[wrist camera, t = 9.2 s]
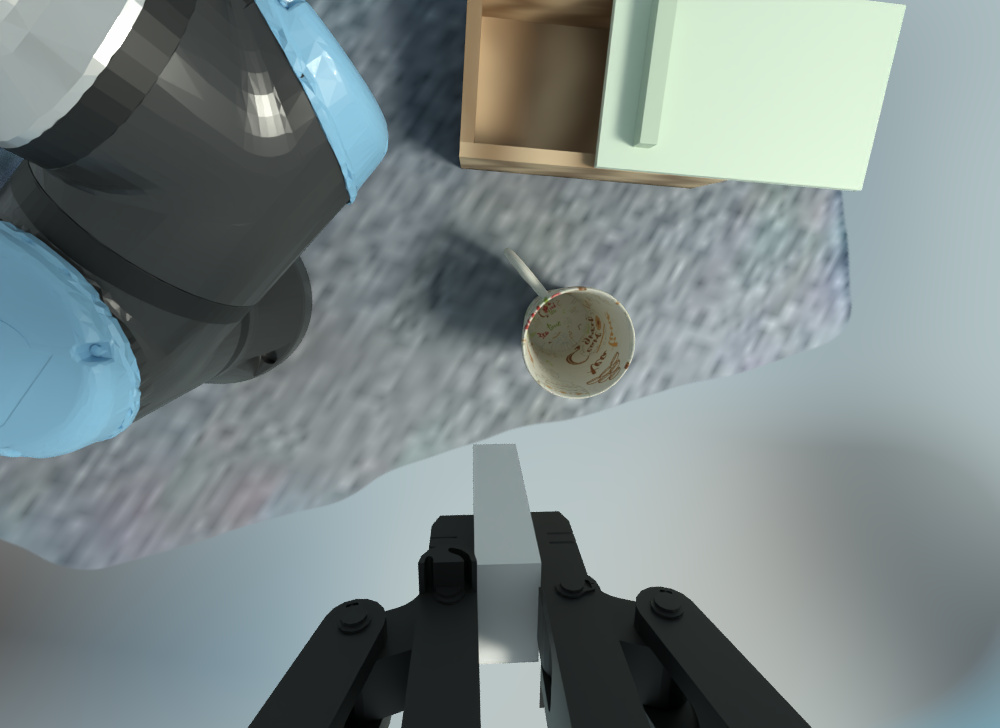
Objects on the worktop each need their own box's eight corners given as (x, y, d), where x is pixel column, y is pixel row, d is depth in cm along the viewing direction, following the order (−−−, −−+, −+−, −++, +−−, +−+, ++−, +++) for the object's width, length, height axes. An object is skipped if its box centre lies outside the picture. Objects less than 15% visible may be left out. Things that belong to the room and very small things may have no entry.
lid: (593, 167, 36) (602, 163, 34) (615, -23, 33) (626, -43, 31) (853, 191, 38) (878, 188, 35) (896, 10, 35) (926, -6, 32)
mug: (549, 383, 47) (569, 420, 37) (462, 280, 44) (459, 293, 35) (619, 326, 46) (657, 350, 36) (534, 218, 43) (552, 213, 34)
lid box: (461, 168, 42) (459, 156, 36) (469, 5, 39) (469, -38, 33) (690, 188, 43) (726, 180, 37) (715, 33, 40) (759, -4, 34)
